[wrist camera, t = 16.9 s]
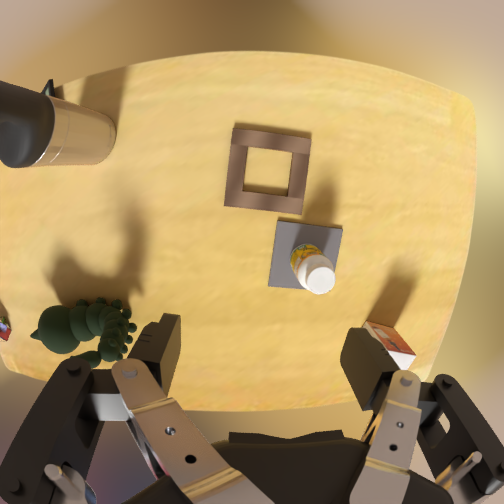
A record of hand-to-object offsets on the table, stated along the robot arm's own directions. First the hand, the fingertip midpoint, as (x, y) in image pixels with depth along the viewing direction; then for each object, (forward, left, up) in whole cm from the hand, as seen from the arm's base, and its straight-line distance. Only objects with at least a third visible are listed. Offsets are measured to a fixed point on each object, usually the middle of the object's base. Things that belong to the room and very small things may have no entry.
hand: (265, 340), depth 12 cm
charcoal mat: (+10, -5, -32) cm, 34 cm away
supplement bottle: (+10, -5, -32) cm, 34 cm away
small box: (+28, -20, -32) cm, 47 cm away
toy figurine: (-29, -21, -32) cm, 48 cm away
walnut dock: (+2, +8, -32) cm, 33 cm away
